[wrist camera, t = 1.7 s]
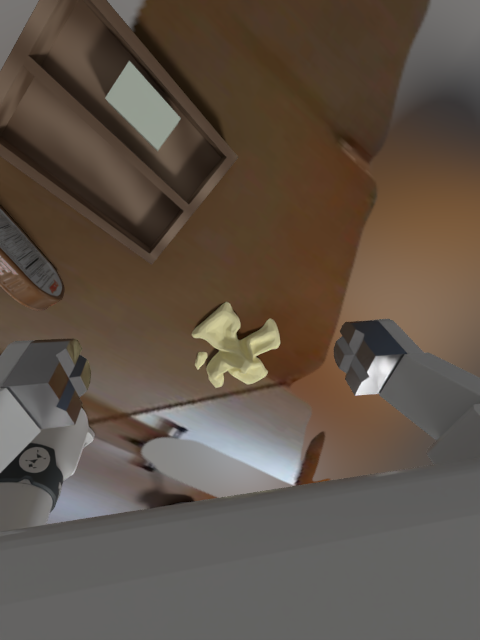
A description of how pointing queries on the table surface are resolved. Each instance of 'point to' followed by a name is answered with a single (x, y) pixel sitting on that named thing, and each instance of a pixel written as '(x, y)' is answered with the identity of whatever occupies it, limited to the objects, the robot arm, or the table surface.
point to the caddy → (103, 127)
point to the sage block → (142, 106)
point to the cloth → (234, 347)
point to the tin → (26, 268)
